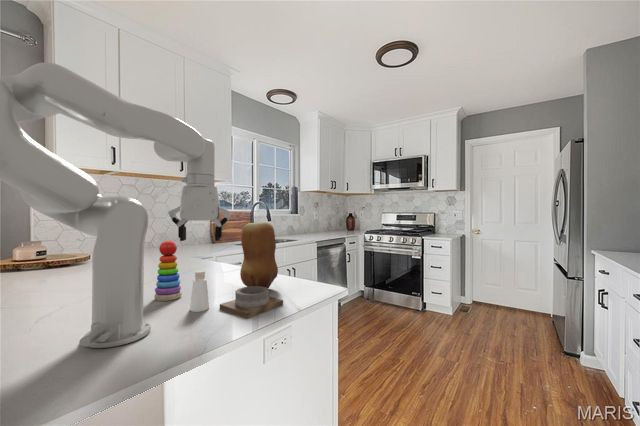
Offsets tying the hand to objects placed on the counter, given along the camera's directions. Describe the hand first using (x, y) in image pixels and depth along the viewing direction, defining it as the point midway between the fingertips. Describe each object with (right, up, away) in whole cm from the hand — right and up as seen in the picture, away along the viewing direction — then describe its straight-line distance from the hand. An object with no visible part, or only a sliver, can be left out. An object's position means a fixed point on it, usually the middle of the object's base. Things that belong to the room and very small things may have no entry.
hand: (200, 240), depth 83 cm
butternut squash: (+13, -20, +19) cm, 31 cm away
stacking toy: (-15, -20, +10) cm, 27 cm away
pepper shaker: (0, -20, 0) cm, 20 cm away
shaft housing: (+15, -20, +2) cm, 25 cm away
